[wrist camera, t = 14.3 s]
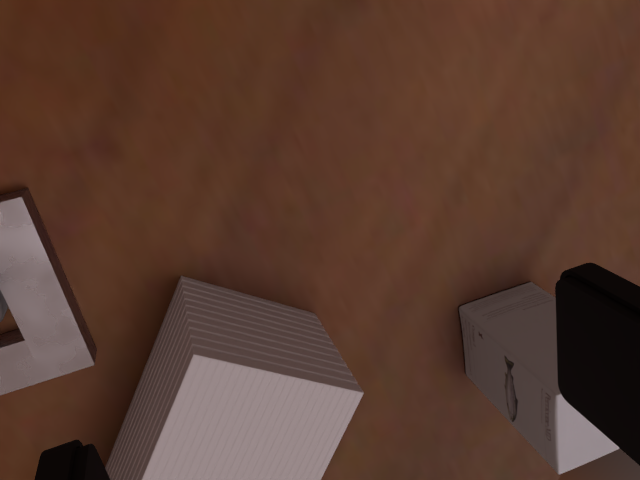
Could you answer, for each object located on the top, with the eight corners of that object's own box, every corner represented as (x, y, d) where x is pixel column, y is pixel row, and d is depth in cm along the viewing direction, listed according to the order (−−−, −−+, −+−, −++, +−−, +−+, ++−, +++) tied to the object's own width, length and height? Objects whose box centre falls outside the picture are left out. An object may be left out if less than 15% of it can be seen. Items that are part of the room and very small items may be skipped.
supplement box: (455, 305, 47) (556, 393, 35) (532, 279, 48) (652, 356, 37) (462, 376, 49) (557, 478, 38) (534, 349, 51) (646, 441, 40)
